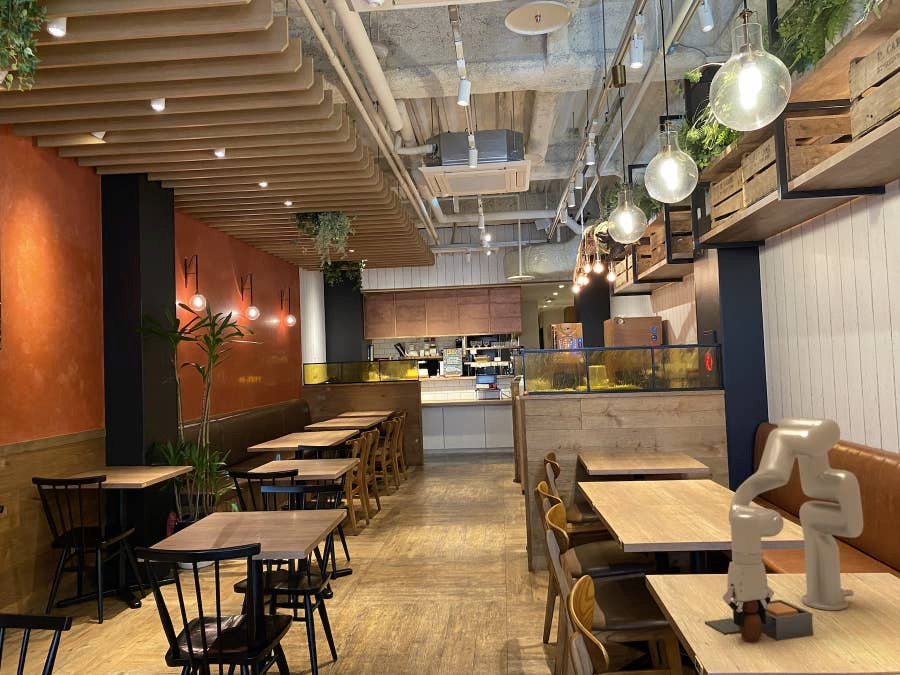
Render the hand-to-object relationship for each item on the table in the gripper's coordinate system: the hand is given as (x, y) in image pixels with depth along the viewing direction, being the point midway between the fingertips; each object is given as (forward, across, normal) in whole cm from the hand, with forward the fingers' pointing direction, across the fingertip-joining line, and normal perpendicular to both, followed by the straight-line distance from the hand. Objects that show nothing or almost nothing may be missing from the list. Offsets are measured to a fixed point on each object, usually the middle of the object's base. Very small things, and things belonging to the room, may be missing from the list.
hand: (749, 623), depth 189 cm
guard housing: (+4, -12, -3) cm, 13 cm away
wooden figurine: (+5, 0, 0) cm, 5 cm away
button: (0, -12, -3) cm, 12 cm away
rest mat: (+4, 0, -10) cm, 10 cm away
